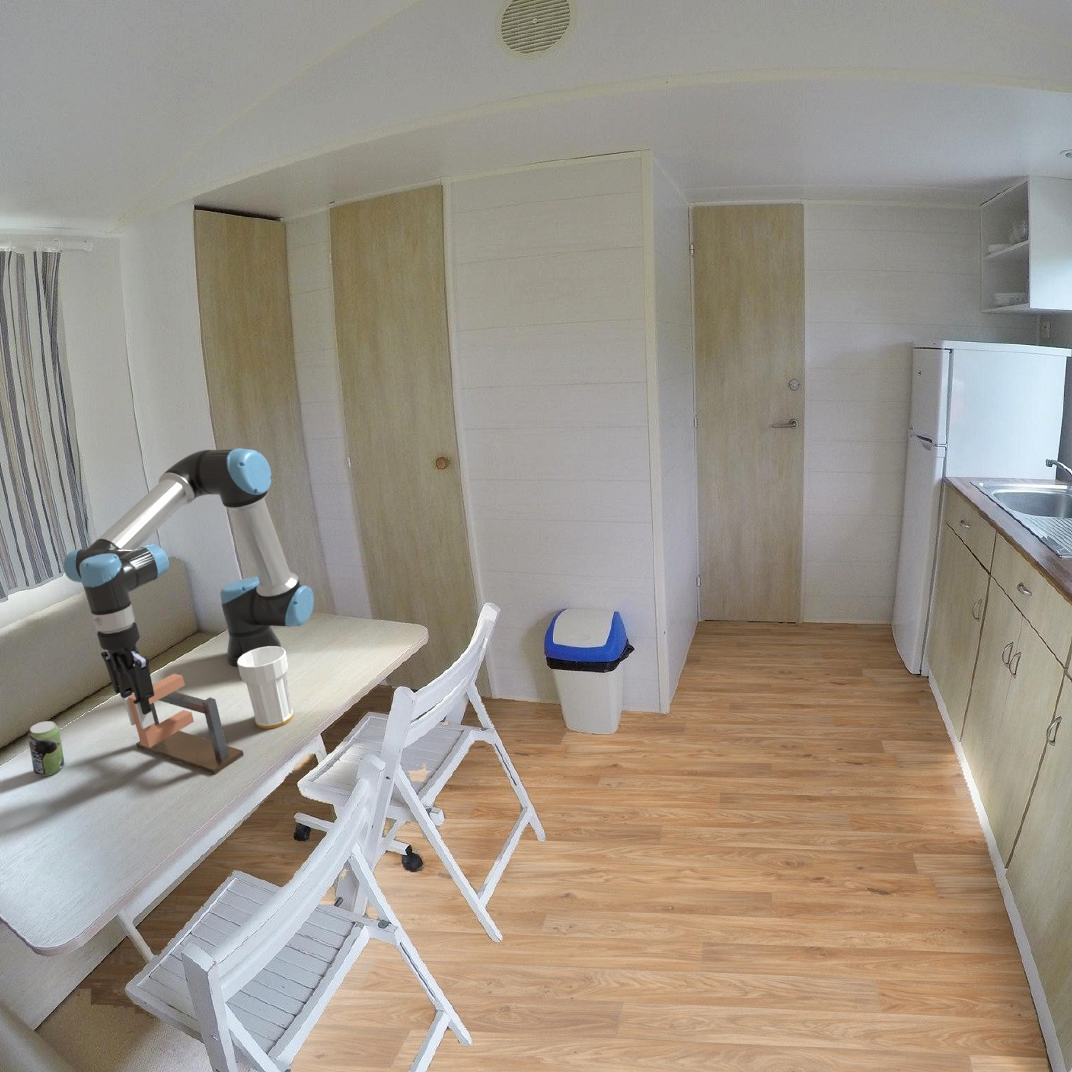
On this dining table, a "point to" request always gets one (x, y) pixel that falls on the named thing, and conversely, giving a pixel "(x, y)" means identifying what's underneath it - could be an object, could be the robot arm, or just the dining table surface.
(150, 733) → the c link
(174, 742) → the stand
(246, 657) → the cup
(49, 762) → the beverage can
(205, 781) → the dining table surface
